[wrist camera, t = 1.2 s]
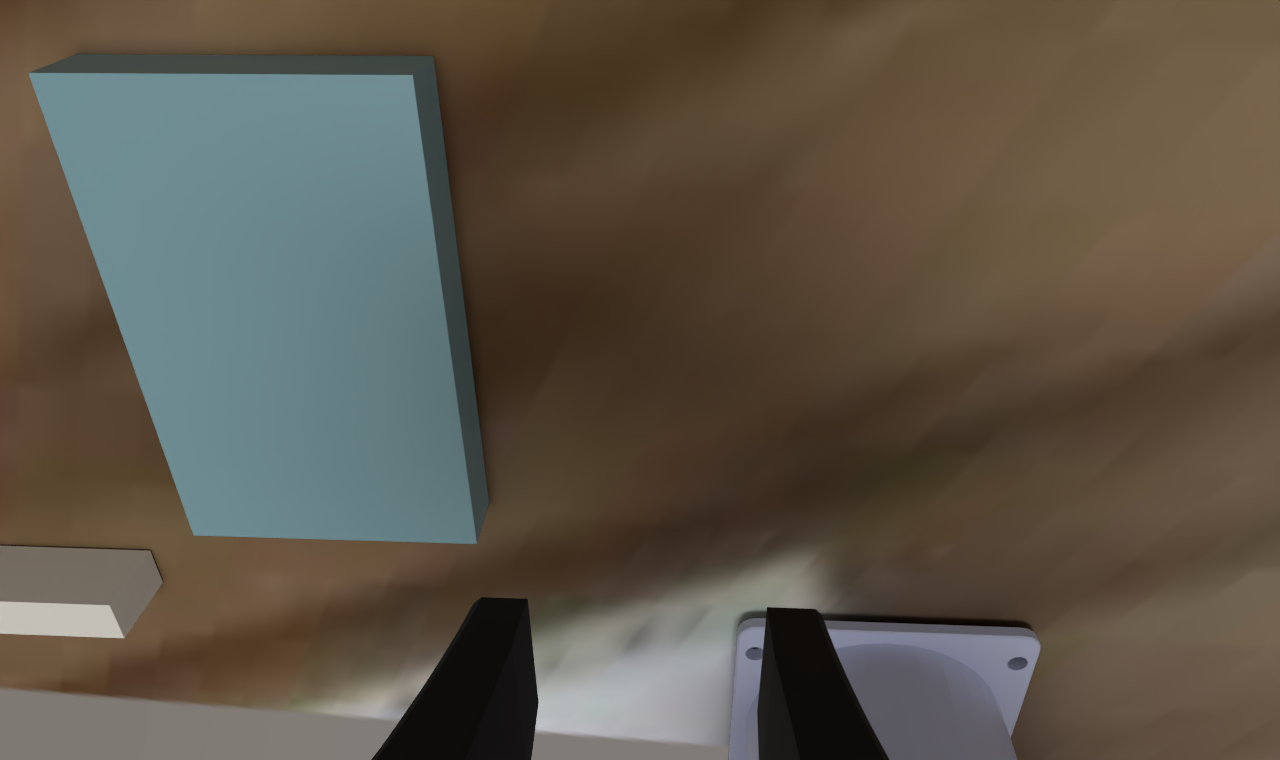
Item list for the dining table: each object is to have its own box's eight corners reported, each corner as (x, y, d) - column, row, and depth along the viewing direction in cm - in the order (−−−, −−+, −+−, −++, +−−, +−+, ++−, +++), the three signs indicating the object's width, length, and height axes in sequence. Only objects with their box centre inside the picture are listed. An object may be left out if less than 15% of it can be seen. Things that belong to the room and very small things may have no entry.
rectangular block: (492, 491, 23) (476, 543, 22) (229, 484, 24) (193, 535, 22) (439, 50, 18) (412, 75, 16) (91, 48, 18) (28, 72, 16)
